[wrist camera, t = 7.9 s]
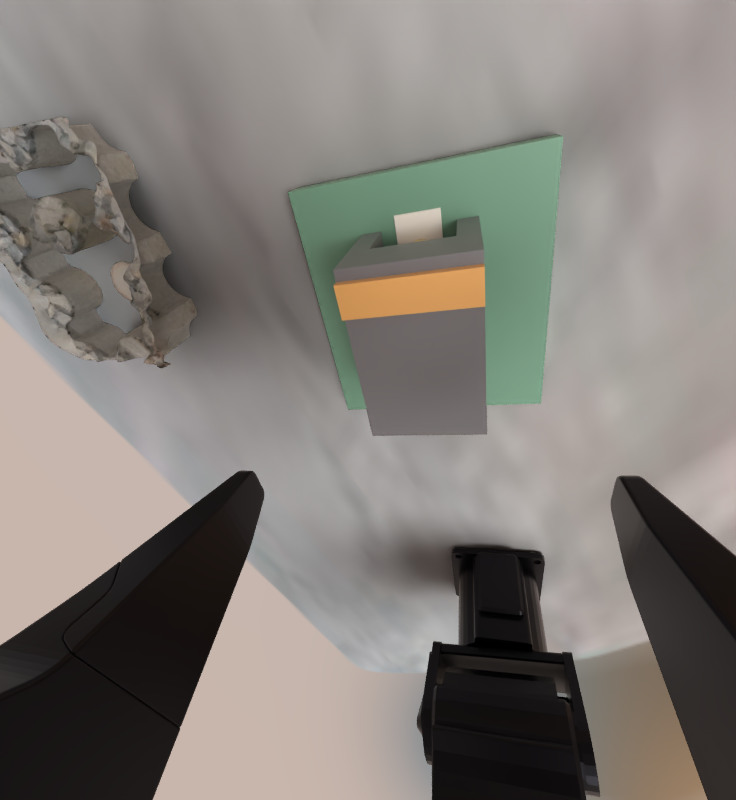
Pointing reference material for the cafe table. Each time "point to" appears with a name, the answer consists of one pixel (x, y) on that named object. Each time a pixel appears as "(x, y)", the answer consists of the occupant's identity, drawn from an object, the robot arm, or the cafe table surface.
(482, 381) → the plug housing
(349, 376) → the board
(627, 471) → the cafe table surface
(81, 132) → the egg carton
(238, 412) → the cafe table surface
